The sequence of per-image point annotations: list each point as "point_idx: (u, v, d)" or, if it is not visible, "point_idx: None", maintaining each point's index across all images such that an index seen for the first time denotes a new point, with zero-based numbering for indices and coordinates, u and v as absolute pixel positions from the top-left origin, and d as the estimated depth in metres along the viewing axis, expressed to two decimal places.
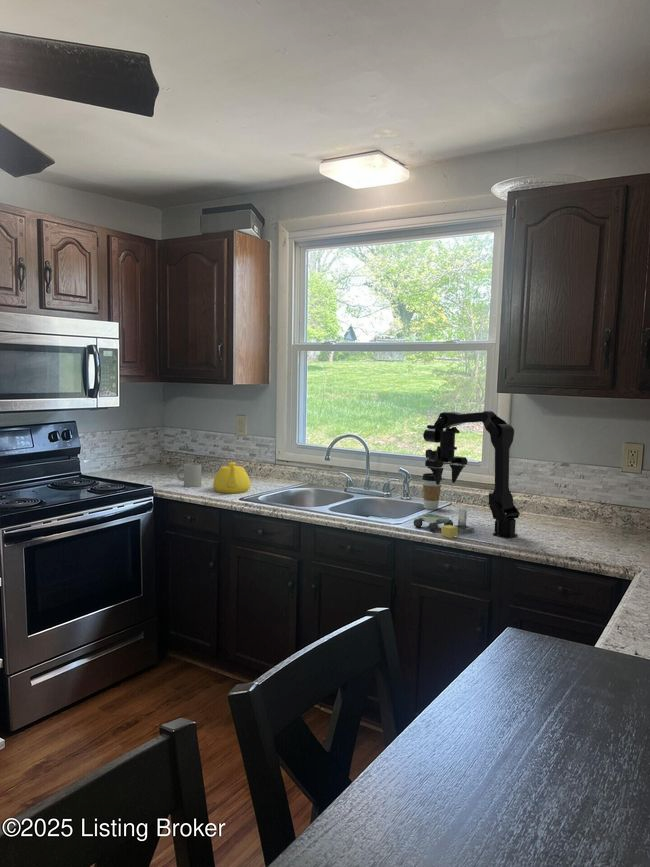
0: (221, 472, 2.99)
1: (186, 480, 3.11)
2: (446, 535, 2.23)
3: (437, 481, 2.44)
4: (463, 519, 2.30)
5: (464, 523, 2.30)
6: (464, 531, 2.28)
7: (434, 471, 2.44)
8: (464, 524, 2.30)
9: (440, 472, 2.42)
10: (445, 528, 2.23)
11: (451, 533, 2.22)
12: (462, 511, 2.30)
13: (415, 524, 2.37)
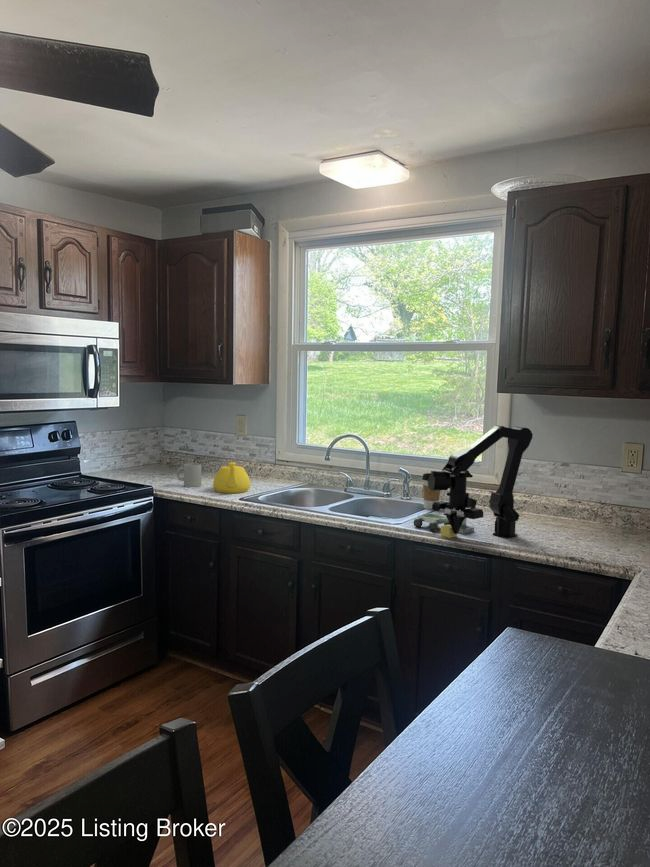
0: (221, 472, 2.99)
1: (186, 480, 3.11)
2: (446, 535, 2.23)
3: None
4: None
5: (464, 523, 2.30)
6: (464, 531, 2.28)
7: None
8: (464, 524, 2.30)
9: (448, 519, 2.21)
10: (445, 528, 2.23)
11: (450, 532, 2.22)
12: None
13: (415, 524, 2.37)
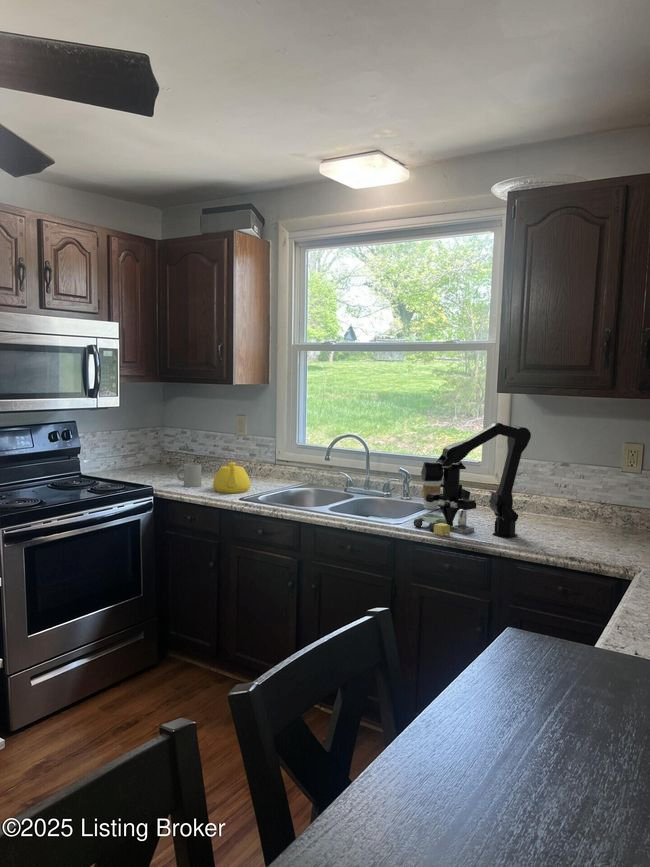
0: (221, 472, 2.99)
1: (186, 480, 3.11)
2: (438, 533, 2.26)
3: None
4: (463, 519, 2.30)
5: (464, 523, 2.30)
6: (464, 531, 2.28)
7: None
8: (464, 524, 2.30)
9: (442, 510, 2.23)
10: (438, 526, 2.26)
11: (443, 531, 2.25)
12: (462, 511, 2.30)
13: (415, 524, 2.37)
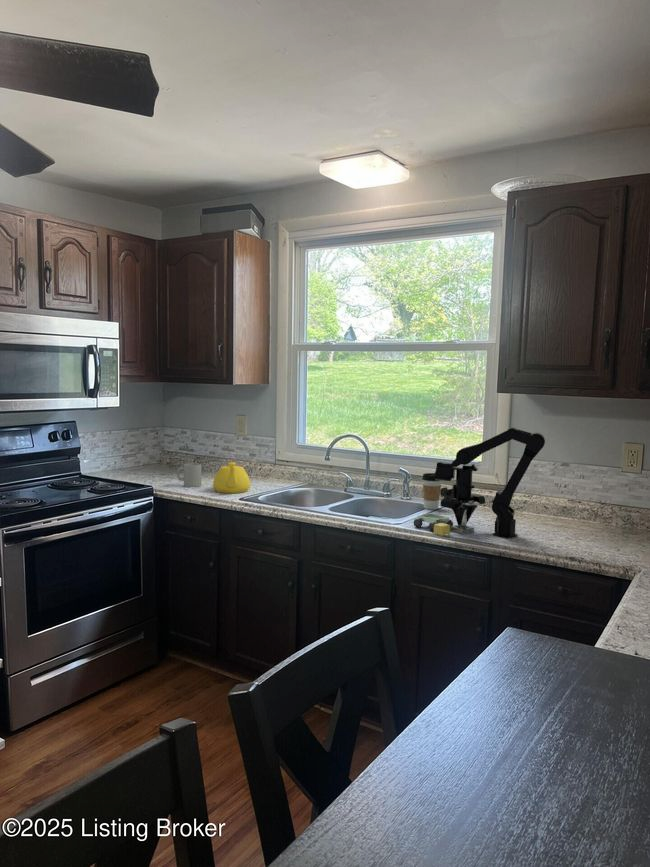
0: (221, 472, 2.99)
1: (186, 480, 3.11)
2: (438, 533, 2.26)
3: (458, 521, 2.30)
4: (463, 519, 2.30)
5: (464, 523, 2.30)
6: (464, 531, 2.28)
7: (455, 511, 2.30)
8: (464, 524, 2.30)
9: (462, 512, 2.28)
10: (438, 526, 2.26)
11: (443, 531, 2.25)
12: None
13: (415, 524, 2.37)
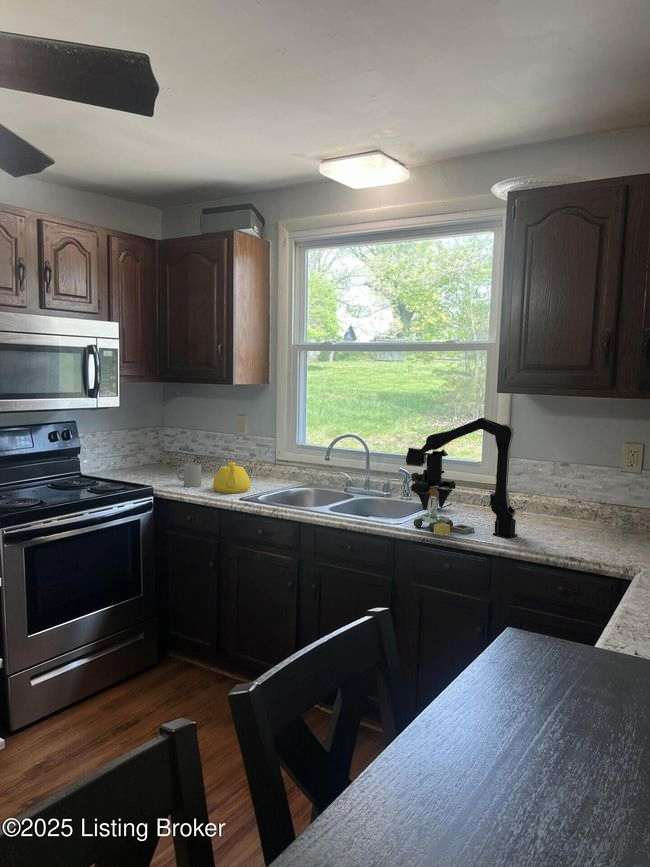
0: (221, 472, 2.99)
1: (186, 480, 3.11)
2: (438, 533, 2.26)
3: (424, 506, 2.33)
4: (433, 507, 2.35)
5: (434, 510, 2.36)
6: (464, 531, 2.28)
7: (421, 496, 2.33)
8: (434, 511, 2.36)
9: (427, 497, 2.31)
10: (438, 526, 2.26)
11: (443, 531, 2.25)
12: (432, 498, 2.35)
13: (415, 524, 2.37)
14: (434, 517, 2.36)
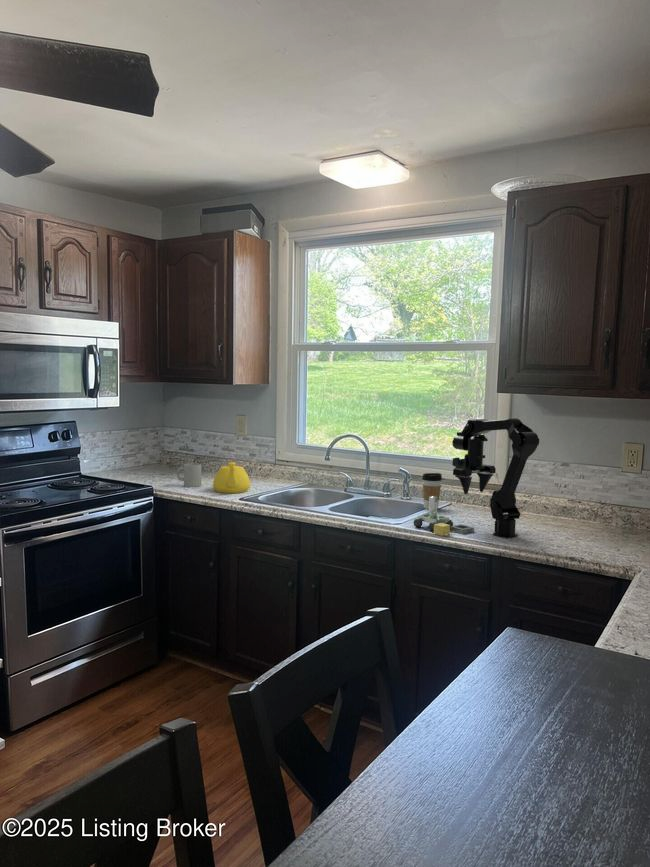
0: (221, 472, 2.99)
1: (186, 480, 3.11)
2: (438, 533, 2.26)
3: (465, 490, 2.37)
4: (434, 506, 2.36)
5: (435, 510, 2.36)
6: (464, 531, 2.28)
7: (462, 480, 2.37)
8: (435, 511, 2.36)
9: (468, 481, 2.35)
10: (438, 526, 2.26)
11: (443, 531, 2.25)
12: (433, 498, 2.36)
13: (415, 524, 2.37)
14: (434, 517, 2.36)
